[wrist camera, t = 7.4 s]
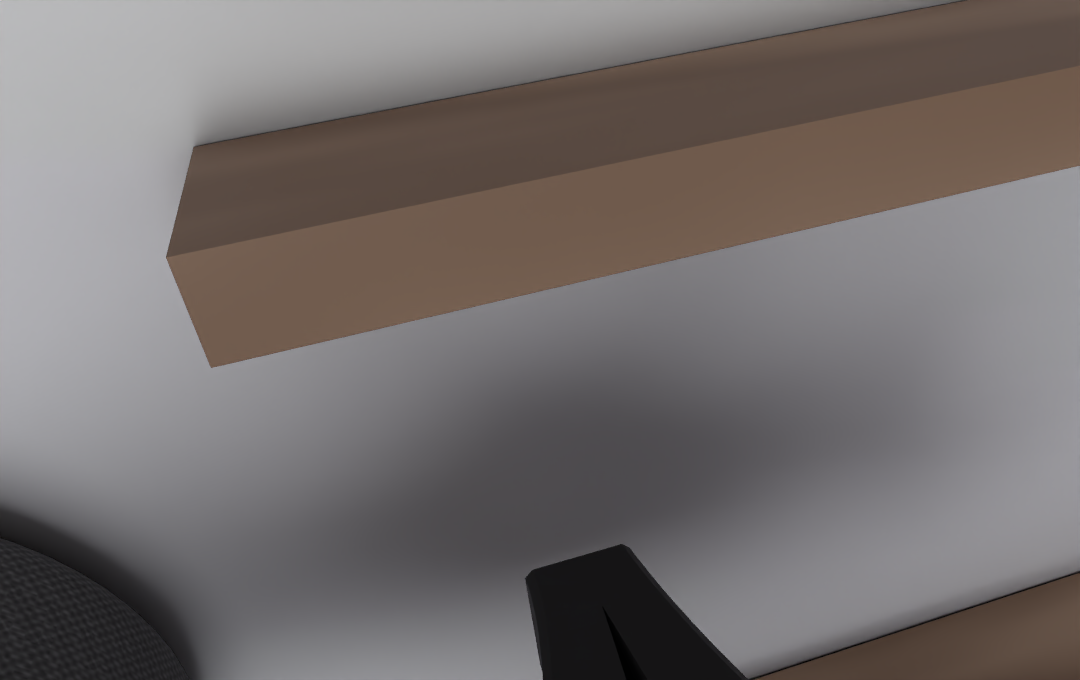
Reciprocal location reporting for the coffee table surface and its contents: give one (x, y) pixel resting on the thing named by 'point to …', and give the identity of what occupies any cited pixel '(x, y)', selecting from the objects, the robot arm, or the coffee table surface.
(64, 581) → the smart speaker
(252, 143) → the chute
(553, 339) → the coffee table surface
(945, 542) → the coffee table surface
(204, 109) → the coffee table surface
